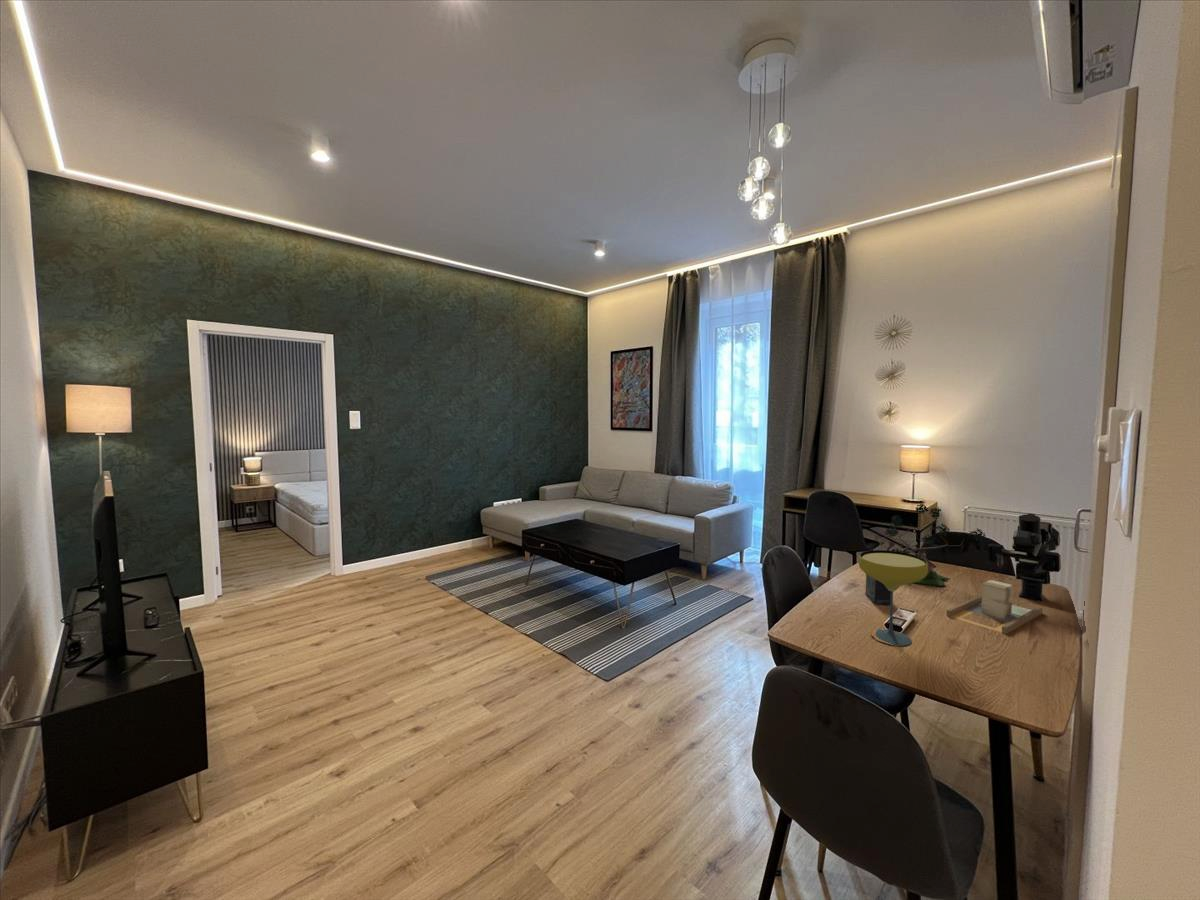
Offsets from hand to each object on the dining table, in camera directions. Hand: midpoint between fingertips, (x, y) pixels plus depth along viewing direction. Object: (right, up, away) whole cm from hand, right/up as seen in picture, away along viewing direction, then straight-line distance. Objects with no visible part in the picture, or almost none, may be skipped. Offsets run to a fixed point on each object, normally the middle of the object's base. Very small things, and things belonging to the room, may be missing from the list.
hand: (1016, 568), depth 162 cm
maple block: (-7, -15, 0) cm, 16 cm away
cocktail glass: (-49, -19, -12) cm, 53 cm away
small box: (-35, -16, +18) cm, 43 cm away
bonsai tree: (-6, -14, +34) cm, 37 cm away
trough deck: (-8, -17, -1) cm, 18 cm away
